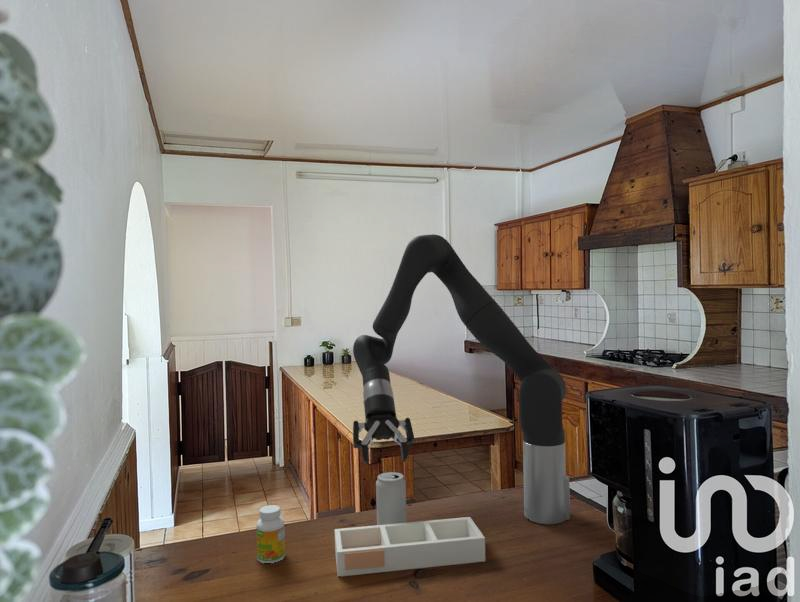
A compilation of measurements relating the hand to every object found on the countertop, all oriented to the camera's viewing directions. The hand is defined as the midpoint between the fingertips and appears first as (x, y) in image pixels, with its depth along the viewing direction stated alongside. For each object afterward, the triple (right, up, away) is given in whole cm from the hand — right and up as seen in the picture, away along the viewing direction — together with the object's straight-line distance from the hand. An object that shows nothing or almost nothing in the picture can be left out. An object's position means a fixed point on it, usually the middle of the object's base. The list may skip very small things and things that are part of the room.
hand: (386, 461), depth 127 cm
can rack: (+5, -13, -19) cm, 23 cm away
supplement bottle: (-22, -14, -18) cm, 32 cm away
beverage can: (+1, -13, -7) cm, 15 cm away
